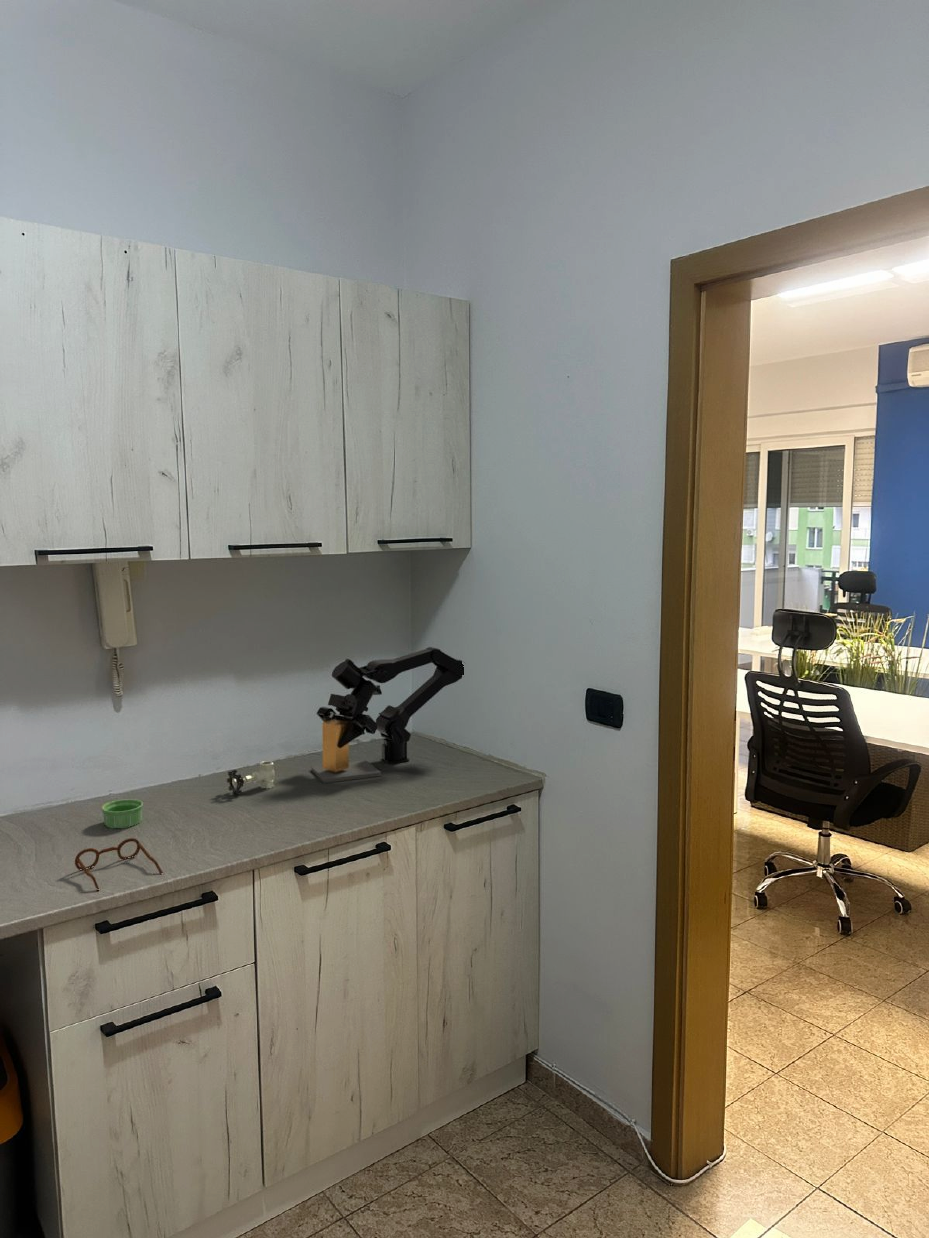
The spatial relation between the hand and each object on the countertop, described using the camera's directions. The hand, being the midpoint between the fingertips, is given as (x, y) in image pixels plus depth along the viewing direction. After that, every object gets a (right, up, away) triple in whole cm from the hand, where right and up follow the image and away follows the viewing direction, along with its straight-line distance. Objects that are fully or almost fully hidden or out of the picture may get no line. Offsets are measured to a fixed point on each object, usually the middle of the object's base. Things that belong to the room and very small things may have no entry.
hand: (331, 745), depth 243 cm
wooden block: (+1, -6, +2) cm, 7 cm away
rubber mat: (+3, -8, +4) cm, 10 cm away
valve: (-19, -10, -11) cm, 24 cm away
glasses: (-33, -17, -64) cm, 74 cm away
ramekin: (-43, -13, -36) cm, 58 cm away
